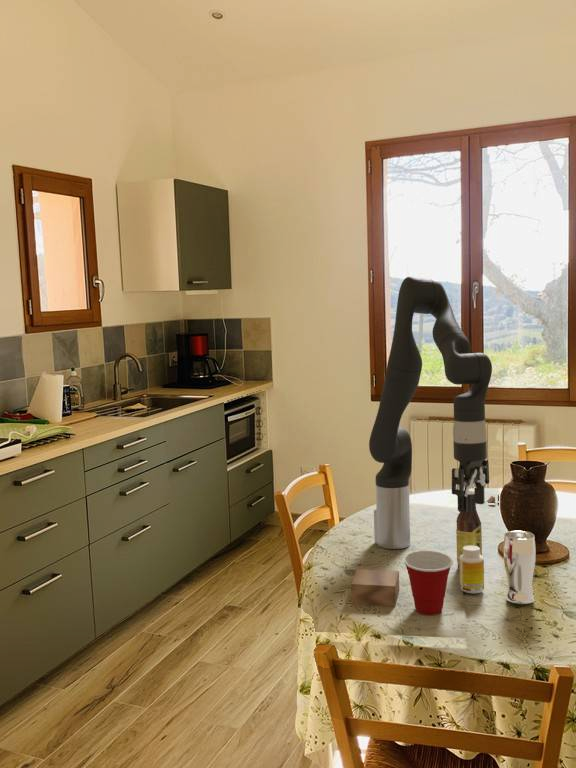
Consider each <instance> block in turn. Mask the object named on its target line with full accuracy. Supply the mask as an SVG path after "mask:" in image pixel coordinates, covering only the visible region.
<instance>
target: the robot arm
mask: <svg viewBox="0 0 576 768" xmlns="http://www.w3.org/2000/svg"><path fill="white" fill-rule="evenodd" d="M448 297H449V296H448V295H447V292H446V290H445V287H444V286H443V284H442V283H441V282H440V281H439V280H436V279H432V278H424V277H417V276H407V277H405V278H404V279H403V281H402V283H401V285H400V287H399V290H398V296H397V303H396V311H395V312H396V313H395V321H394V329H393V336H392V342H391V346H390V351H389V357H388V360H387V364H386V370H385V374H384V380H383V386H382V390H381V396H380V401H379V406H378V410H377V413H376V416H375V421H374V423H373V427H372V429H371V433H370V437H369V441H368V442H369V443H368V448H369V450H368V451H369V453H370V455H371V458H373V460H374V461H375V462H377V463H380V464H383V465H382V466H381V469H380V470H379V471H378V472H377V473H376V475H375V503H376V505H375V509H374V510H373V522H374V523H373V528H374V530H373V531H374V533H373V535H374V544H376V545H377V546H378V547H379V548H382V549H387V550H388V549H389V550H400V549H405V548H408V547H410V545H411V518H410V517H411V515H410V514H411V513H410V478H411V474H412V471H413V470H412V468H413V465H412V463H413V443H412V438H411V436H410V434H409V432H408V430H406V428H404V427H402V426H400V422H401V419H402V416H403V414H404V412H405V410H406V408H407V407H408V405H409V404H410V402H411V401H412V399H413V397H414V396H415V393H416V391H417V389H418V386H419V383H420V378H421V373H422V370H423V369H422V368H423V359H422V355H421V353H420V350H419V348H418V345H417V342H416V340H415V337H414V333H413V319H414V314H422V315H431V316H433V317H434V318H435V322H434V323H433V328H432V339H433V341H434V343H435V345H436V347H437V349H438V350H439V353H440V354H441V357H442V360H443V361H442V362H443V366H444V367H443V368H444V374H445V377H446V379H447V380H448V381H449V382H450V383H451V384H454V385H458V386H459V385H470V384H471V387H470V388H469V390H468V391H467V392H464V393H461V394H458V395H456V396H455V397H454V399H453V426H452V427H453V429H452V433H453V434H452V438H453V441H452V442H453V443H452V444H453V459H454V460H456V461H458V462H459V465H458V468H454V467H453V468H452V469H451V494H452V495H455V496H456V497H457V498H456V499H457V511H458V512H459V513H460V512H467V511H468V496H467V495H468V491H470V489H471V488H472V487H473V486H474V491H473V492H475V503H476V505H485V503H486V502H485V489H486V487H487V485H489V484H490V468H489V467H490V465H489V460H488V443H487V442H488V441H487V425H486V409H485V408H486V406H485V404H486V398H487V395H488V394H487V393H488V389H489V384H490V383H491V379H492V378H491V377H492V373H493V366H492V361H491V359H490V357H489V356H488V355H487V354H485V353H483V352H473V353H471V349H472V348H471V343H470V340H469V339H468V338H467V336H466V335H465V333H464V332H463V330H462V328H461V327H460V325H459V323H458V322H457V320H456V318H455V314H454V311H453V308H452V306H451V303H450V300H449V298H448Z"/></svg>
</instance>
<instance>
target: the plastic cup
mask: <svg viewBox="0 0 576 768" xmlns="http://www.w3.org/2000/svg"><path fill="white" fill-rule="evenodd" d="M402 558H403V563H404V565H405V566H406V570H407V574H408V577H409V584H410V589H411V594H412V598H413V602H414V608H415V611H416V612H417V613H418V614H421V615H426V616H434V615H438V614H441V612H442V611H443V607H444V603H445V597H446V591H447V584H448V578H449V574H450V571H451V567H452V565H454V564H453V563H454V561H453V558H452V557H451V556H450V555H448V554H446V553H444V552H441V551H437V550H436V551H435V550H425V549H424V550H417V551H411V552H409V553H407V554H405V555H404V556H403V557H402Z"/></svg>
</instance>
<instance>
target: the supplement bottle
mask: <svg viewBox="0 0 576 768" xmlns="http://www.w3.org/2000/svg"><path fill="white" fill-rule="evenodd" d="M484 559H485V557H484V556H483V554H482V555H480V548H479V547H477V546H464V547H463V554H462V555H461V556H460V558H459V563H460V570H459V588H460V591H462V592H464V593H467V594H479V593H482V592H484V590H485V573H484V572H485V569H484V568H485V567H484V566H485V562H484Z"/></svg>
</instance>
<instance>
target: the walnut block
mask: <svg viewBox="0 0 576 768" xmlns="http://www.w3.org/2000/svg"><path fill="white" fill-rule="evenodd" d="M350 585H351V586H350V591H351V592H350V593H351V605H361V606H362V605H363V606H380V607H396V606H397V602H398V598H399V593H400V571H399V570H388V569H387V570H384V569H367V568H366V569H361V568H358V569H356V571H355V574H354V576H353V578H352V580H351V583H350Z"/></svg>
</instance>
